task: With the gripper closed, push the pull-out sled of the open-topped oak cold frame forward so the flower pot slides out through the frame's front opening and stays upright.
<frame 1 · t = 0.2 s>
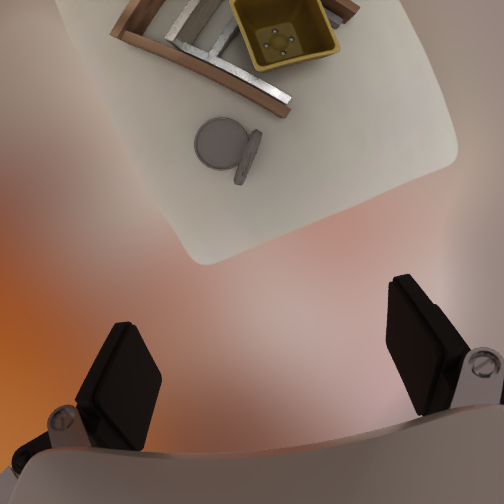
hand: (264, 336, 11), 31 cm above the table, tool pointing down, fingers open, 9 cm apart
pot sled: (261, 24, 27), point 4 cm above the table, slide at 0.0 cm
flower pot: (277, 42, 32), on the table
pocket watch: (230, 147, 37), on the table
cold frame: (236, 21, 30), on the table
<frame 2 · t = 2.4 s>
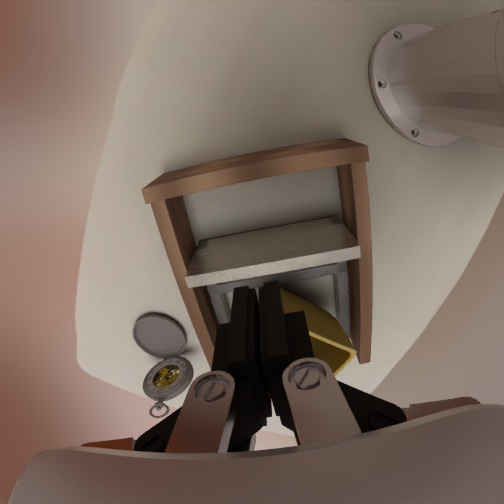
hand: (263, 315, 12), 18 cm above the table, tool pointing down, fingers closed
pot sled: (283, 313, 29), point 4 cm above the table, slide at 0.0 cm
flower pot: (283, 309, 34), on the table
pocket watch: (164, 339, 36), on the table
cold frame: (275, 265, 31), on the table
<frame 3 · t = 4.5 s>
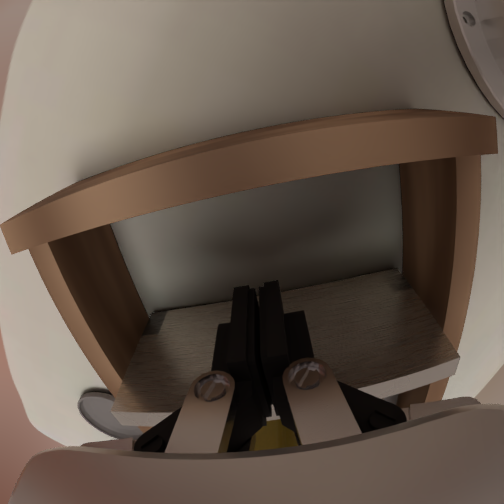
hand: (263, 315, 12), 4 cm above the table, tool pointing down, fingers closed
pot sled: (296, 428, 16), point 4 cm above the table, slide at 0.9 cm, touching flower pot, gripper
flower pot: (295, 397, 20), on the table, touching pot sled
pocket watch: (123, 418, 23), on the table
cold frame: (282, 336, 18), on the table
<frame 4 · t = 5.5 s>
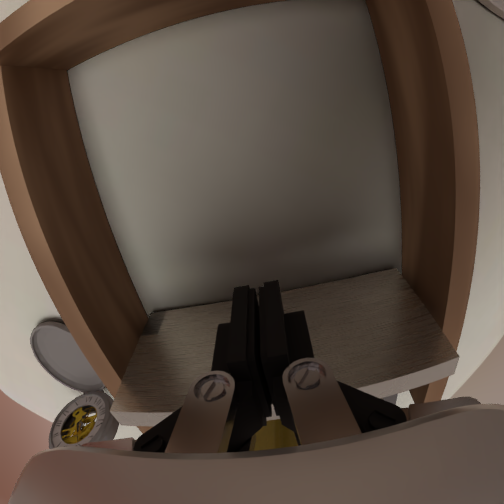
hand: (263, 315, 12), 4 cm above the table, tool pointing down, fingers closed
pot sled: (295, 428, 16), point 4 cm above the table, slide at 7.9 cm, touching gripper
flower pot: (298, 396, 20), on the table
pocket watch: (81, 363, 20), on the table
cold frame: (255, 223, 15), on the table
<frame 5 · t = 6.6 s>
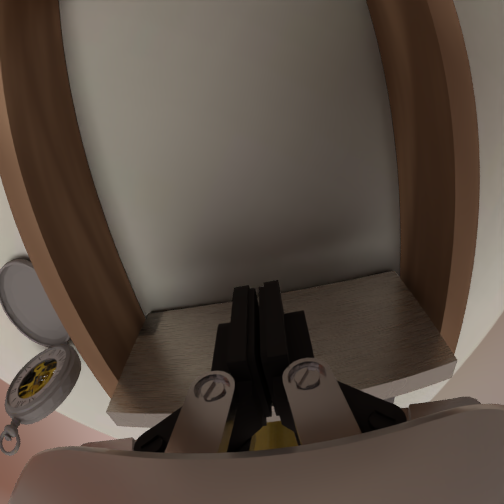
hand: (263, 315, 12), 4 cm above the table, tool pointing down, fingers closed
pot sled: (292, 430, 16), point 4 cm above the table, slide at 12.6 cm, touching flower pot, gripper
flower pot: (299, 397, 20), on the table, touching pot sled
pocket watch: (47, 312, 18), on the table
cold frame: (232, 126, 13), on the table
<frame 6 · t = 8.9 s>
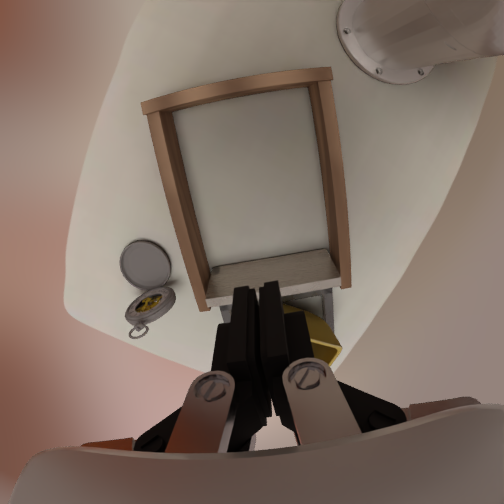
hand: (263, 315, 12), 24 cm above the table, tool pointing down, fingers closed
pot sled: (280, 326, 36), point 4 cm above the table, slide at 12.6 cm
flower pot: (284, 318, 41), on the table
pocket watch: (150, 271, 38), on the table
cold frame: (256, 187, 34), on the table
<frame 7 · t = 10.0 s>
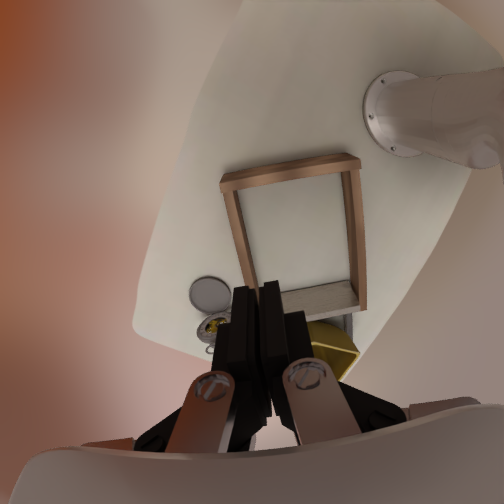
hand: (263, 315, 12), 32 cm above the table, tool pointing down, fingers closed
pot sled: (314, 338, 48), point 4 cm above the table, slide at 12.6 cm
flower pot: (314, 331, 53), on the table
pocket watch: (212, 299, 50), on the table
cold frame: (298, 238, 45), on the table
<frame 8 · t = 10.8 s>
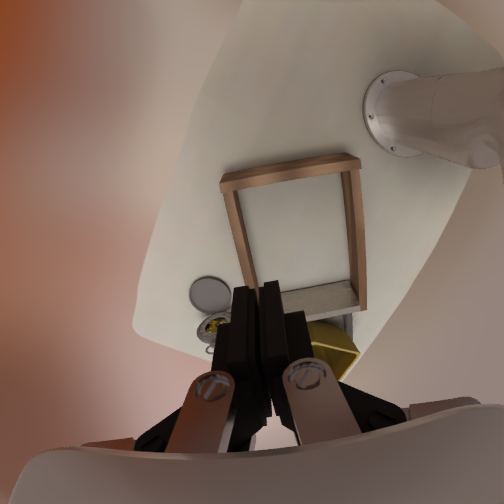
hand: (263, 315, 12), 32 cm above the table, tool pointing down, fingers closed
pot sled: (314, 338, 48), point 4 cm above the table, slide at 12.6 cm
flower pot: (314, 331, 53), on the table
pocket watch: (212, 299, 50), on the table
cold frame: (298, 238, 45), on the table
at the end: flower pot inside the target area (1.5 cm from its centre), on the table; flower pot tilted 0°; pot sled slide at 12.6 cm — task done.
